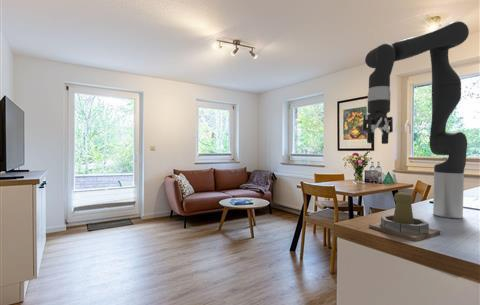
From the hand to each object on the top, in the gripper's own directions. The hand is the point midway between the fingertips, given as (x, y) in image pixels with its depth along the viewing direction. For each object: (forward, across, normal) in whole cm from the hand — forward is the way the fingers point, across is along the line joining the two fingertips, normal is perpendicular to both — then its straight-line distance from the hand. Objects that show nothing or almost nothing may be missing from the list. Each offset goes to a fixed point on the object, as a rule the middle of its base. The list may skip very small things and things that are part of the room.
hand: (377, 143), depth 97 cm
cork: (+27, -7, -14) cm, 31 cm away
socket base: (+28, -7, -14) cm, 32 cm away
